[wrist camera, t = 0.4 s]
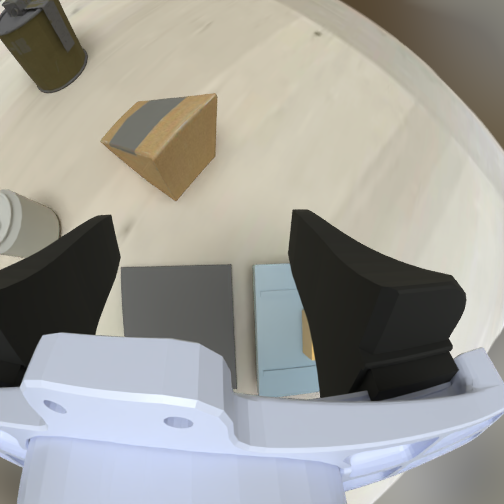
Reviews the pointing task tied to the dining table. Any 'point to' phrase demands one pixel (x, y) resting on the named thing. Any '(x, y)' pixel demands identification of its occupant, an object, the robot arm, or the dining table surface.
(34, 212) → the can
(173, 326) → the mat
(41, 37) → the canister
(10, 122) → the dining table surface
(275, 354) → the lid
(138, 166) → the sandwich container
